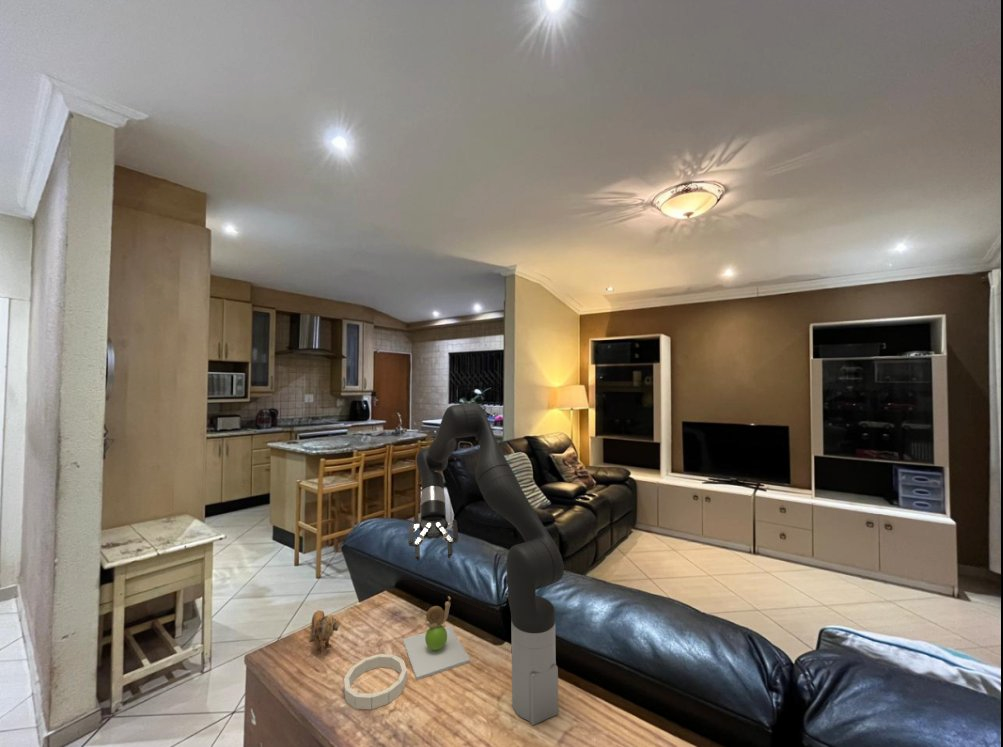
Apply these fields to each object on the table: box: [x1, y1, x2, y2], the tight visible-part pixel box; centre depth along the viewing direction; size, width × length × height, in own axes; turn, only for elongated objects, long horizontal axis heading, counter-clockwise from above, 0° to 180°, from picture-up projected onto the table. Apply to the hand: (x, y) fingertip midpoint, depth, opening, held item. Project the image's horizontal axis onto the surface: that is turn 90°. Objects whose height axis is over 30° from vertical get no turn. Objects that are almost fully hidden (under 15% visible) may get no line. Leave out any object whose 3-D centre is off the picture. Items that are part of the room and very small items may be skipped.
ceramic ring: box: [343, 653, 408, 710], centre depth 88 cm, size 13×13×2 cm
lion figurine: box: [309, 610, 341, 655], centre depth 103 cm, size 15×5×9 cm, turn 44°
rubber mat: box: [402, 625, 471, 681], centre depth 99 cm, size 15×13×1 cm
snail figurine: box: [425, 596, 451, 650], centre depth 100 cm, size 5×6×12 cm
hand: (433, 558), depth 111 cm, fingers open, 8 cm apart
